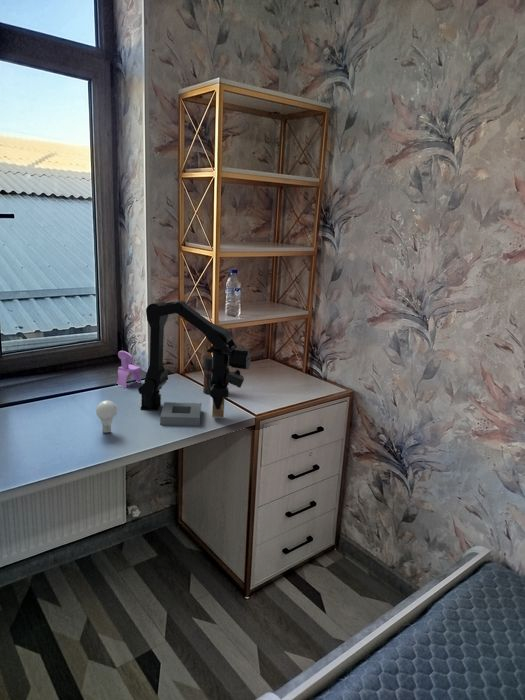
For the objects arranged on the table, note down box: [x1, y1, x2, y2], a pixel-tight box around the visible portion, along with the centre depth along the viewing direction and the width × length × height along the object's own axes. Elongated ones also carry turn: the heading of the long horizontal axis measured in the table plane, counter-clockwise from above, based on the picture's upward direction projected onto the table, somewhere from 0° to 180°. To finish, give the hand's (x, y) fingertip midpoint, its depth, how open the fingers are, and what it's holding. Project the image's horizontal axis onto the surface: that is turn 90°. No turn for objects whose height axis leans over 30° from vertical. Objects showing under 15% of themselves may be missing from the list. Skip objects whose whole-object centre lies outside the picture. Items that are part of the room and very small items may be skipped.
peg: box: [211, 397, 226, 418], centre depth 177 cm, size 4×4×9 cm
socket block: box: [159, 401, 202, 427], centre depth 176 cm, size 13×13×3 cm
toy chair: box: [115, 350, 142, 388], centre depth 204 cm, size 8×9×15 cm
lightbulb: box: [95, 399, 118, 434], centre depth 160 cm, size 6×6×11 cm
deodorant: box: [202, 354, 213, 396], centre depth 202 cm, size 6×6×15 cm
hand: (218, 406), depth 177 cm, fingers closed on peg, 4 cm apart
